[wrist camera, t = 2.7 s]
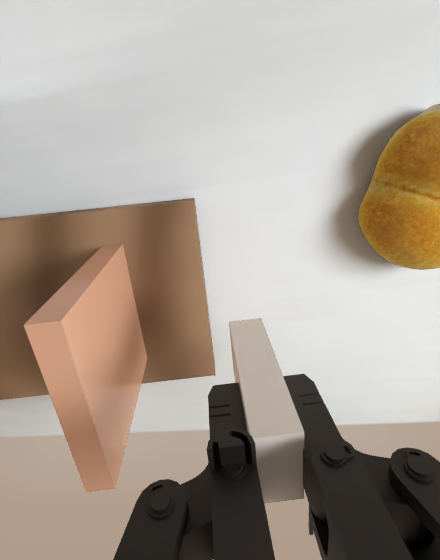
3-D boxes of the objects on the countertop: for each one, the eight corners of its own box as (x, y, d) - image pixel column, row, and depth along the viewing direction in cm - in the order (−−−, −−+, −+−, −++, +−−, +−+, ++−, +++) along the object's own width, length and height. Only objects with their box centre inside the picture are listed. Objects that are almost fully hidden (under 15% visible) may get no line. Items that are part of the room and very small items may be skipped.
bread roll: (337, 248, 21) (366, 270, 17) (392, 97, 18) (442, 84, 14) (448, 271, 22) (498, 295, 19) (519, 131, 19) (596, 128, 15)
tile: (122, 244, 19) (61, 320, 10) (147, 358, 22) (115, 488, 13) (99, 246, 19) (18, 325, 10) (127, 360, 22) (82, 492, 13)
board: (194, 198, 19) (194, 201, 18) (214, 364, 24) (215, 375, 23) (-114, 230, 19) (-134, 235, 18) (-33, 392, 23) (-45, 404, 22)
